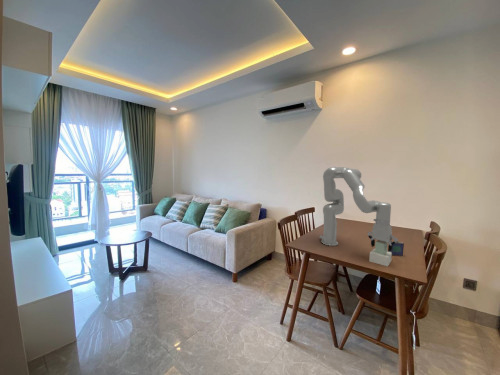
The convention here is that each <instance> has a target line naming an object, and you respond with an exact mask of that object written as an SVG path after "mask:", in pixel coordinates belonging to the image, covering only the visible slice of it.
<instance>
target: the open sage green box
mask: <svg viewBox="0 0 500 375" xmlns="http://www.w3.org/2000/svg"><path fill="white" fill-rule="evenodd" d="M388 245H389V243H388V242H384V241H380V240H375V246H374V247H375V252H376V253H379V254H382V255H384V254H386V253H387V252H388Z"/></svg>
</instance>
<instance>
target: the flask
mask: <svg viewBox="0 0 500 375" xmlns="http://www.w3.org/2000/svg"><path fill="white" fill-rule="evenodd" d="M404 247H405V243H404V242H402V241H399V240H398V241H397V242H396V243H395V244H393V245H392V250H391V251H390V252H391V253H392V257H393V256H394V257H395V256H398V257H402V256H403V255H404V249H405V248H404ZM387 252H389V251H388V250H387Z"/></svg>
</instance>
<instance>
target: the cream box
mask: <svg viewBox="0 0 500 375" xmlns="http://www.w3.org/2000/svg"><path fill="white" fill-rule="evenodd" d="M392 257H393V256H392V253H391V252H388V251H387V253H386V254H384V255H382V254H379V253H376V252H375V248H373V249H372V250H371V251H370V252H369V258H368V260H369V261H368V262H369V263H370V262H371V263H374V264H377V265H380V266H384V267H389V266H390V264H391V262H392Z"/></svg>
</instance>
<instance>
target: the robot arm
mask: <svg viewBox="0 0 500 375" xmlns="http://www.w3.org/2000/svg"><path fill="white" fill-rule="evenodd" d="M361 178H362V173H361V171H360V170H359V169H356V168H349V167H342V166H333V167H329V168H328V167H327V169H325V171H324V172H323V174H322V180H323V197H324V200H325V201H326V202H328V203H326V204H325V205H324V206H323V208H322V214H323V235H321V234H320V235H319V239H321V241H320V243H321V242H322V243H323V245H324V244H325V246H328V245H329V246H330V247H333V246H338V245H339V242H338V241H337V226H338V224H337V222H338V221H337V218H336V216H338V215H342V214H343V213H344V210H345V206H344V205H345V204H344V202H345V201H344V200H345V199H344V193H343V191H342V190H340V189H338V188H336V187H337V186H336V182H335V179H343V180H344V181H345V183H346V184H347V186H348V187H349V188H350V191H351V192H352V198H353V201H354V203H355V204H356V207H357V208H358V210H360V211H361V213H362V212H363V213H365V214H369V213H376V214H375V218H373V221H374V223H373V226H372V229H371V230H372V231H369V232H367V236H368V238H369V239H370V247H372V248H373V247H375V245H376V241H378V240H380V241H384V242H388V245H387V252H388V251H389V252H390V251H391V250H392V245H393V244H395V243H396V242H397V241H398V242H399V239H398V238H397V237H396V236H394V235H393V232H392V231H393V230H392V229H393V228H392V225H391V223H390V222H391V213H392V204H391V203H389V202H381V201H378V200H367V198H366V197H365V196H364V192H363V191H364V189H365V187H366V186H365V184H364V183H363V181H362V179H361ZM331 202H332V203H331ZM392 240H393V241H392ZM322 243H321V244H322Z"/></svg>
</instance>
